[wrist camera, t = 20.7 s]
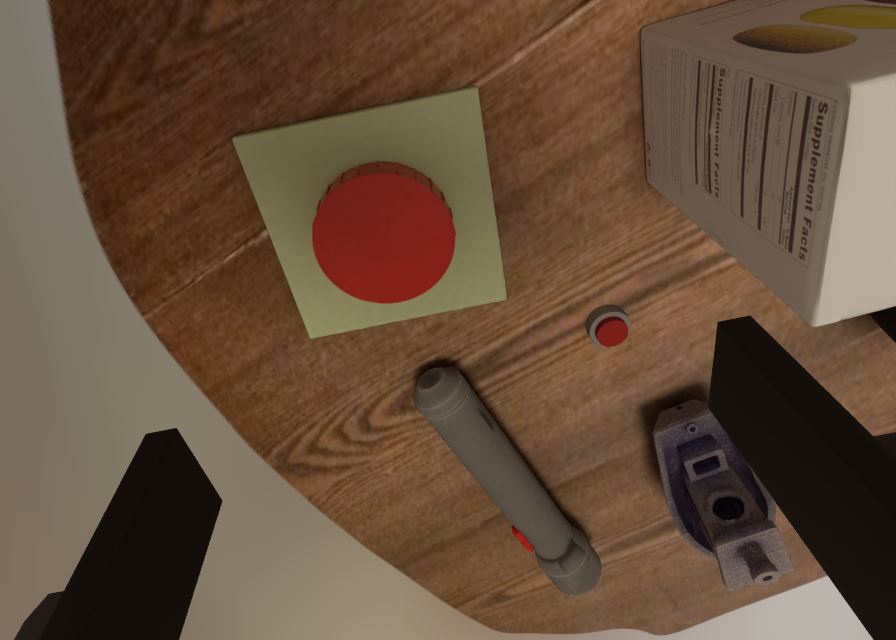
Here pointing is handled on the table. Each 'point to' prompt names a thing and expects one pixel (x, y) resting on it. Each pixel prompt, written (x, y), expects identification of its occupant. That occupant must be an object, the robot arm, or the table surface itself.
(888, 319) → the mug
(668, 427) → the toy boat
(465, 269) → the mat
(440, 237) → the lid
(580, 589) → the flashlight
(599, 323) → the push button
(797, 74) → the supplement box
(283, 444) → the table surface
